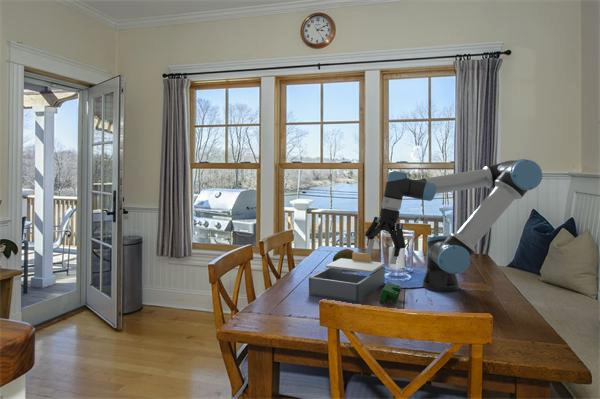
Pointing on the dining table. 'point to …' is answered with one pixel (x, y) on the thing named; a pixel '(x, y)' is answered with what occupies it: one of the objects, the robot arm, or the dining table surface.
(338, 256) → the fruit
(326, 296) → the housing
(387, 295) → the clamp
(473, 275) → the dining table surface
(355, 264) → the lid
